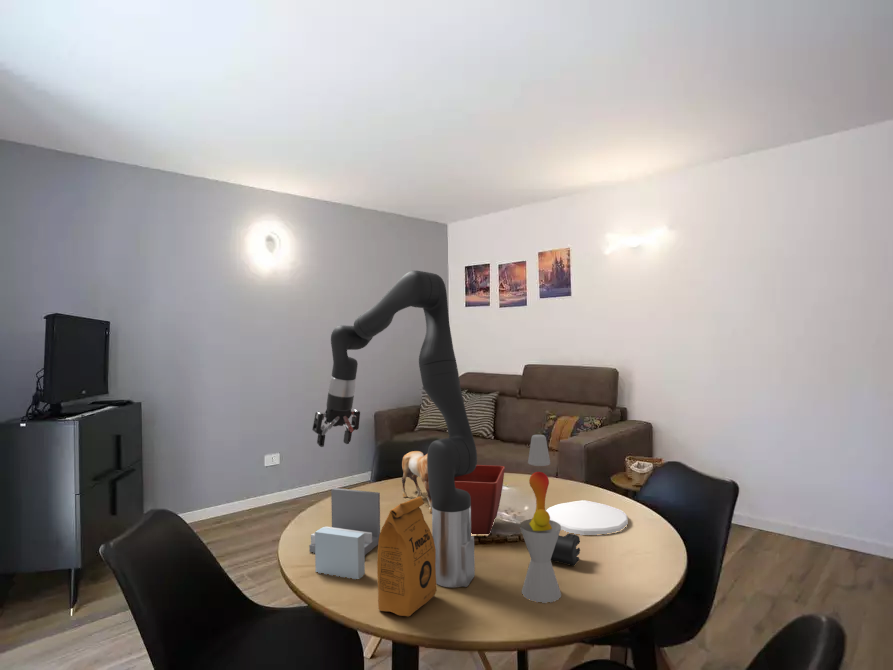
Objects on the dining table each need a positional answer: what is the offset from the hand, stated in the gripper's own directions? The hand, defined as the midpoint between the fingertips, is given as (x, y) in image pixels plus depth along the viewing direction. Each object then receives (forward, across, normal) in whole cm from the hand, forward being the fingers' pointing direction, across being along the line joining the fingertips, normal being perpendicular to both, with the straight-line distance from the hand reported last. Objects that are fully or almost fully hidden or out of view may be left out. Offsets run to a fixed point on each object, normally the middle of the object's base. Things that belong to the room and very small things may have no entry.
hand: (333, 444), depth 155 cm
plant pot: (+18, +31, -32) cm, 48 cm away
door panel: (+20, -12, -31) cm, 39 cm away
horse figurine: (+24, +39, -4) cm, 46 cm away
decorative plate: (+12, +62, -51) cm, 81 cm away
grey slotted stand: (+22, -3, -18) cm, 29 cm away
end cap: (+11, +31, -62) cm, 71 cm away
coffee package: (+15, -10, -53) cm, 56 cm away
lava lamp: (+10, +15, -70) cm, 72 cm away
